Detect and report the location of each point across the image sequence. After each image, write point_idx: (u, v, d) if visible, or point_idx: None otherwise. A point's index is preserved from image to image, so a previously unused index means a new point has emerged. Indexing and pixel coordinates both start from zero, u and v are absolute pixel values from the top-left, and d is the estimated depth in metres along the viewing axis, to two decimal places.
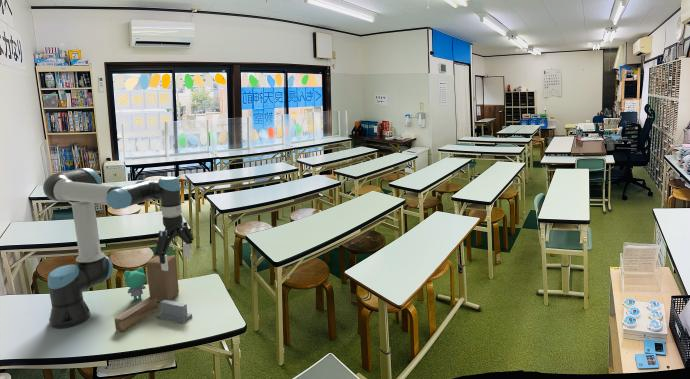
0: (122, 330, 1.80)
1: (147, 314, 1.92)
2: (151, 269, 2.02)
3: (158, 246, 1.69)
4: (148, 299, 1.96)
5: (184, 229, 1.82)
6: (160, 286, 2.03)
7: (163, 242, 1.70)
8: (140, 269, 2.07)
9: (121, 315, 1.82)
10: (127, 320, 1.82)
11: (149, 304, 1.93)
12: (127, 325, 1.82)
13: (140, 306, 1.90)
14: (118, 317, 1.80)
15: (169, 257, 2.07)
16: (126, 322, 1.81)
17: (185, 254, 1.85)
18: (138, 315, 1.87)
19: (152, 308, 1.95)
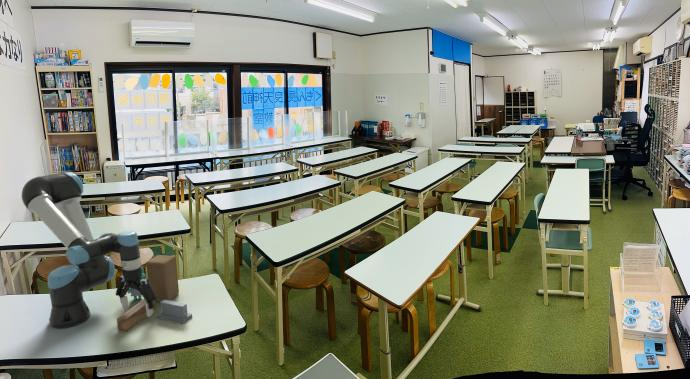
0: (125, 330, 1.80)
1: (146, 314, 1.93)
2: (151, 269, 2.02)
3: None
4: None
5: None
6: (160, 286, 2.03)
7: (119, 285, 1.88)
8: None
9: (123, 315, 1.82)
10: (129, 320, 1.82)
11: None
12: (130, 325, 1.82)
13: (140, 306, 1.90)
14: (120, 318, 1.80)
15: (169, 257, 2.07)
16: (128, 322, 1.81)
17: None
18: (139, 315, 1.87)
19: None
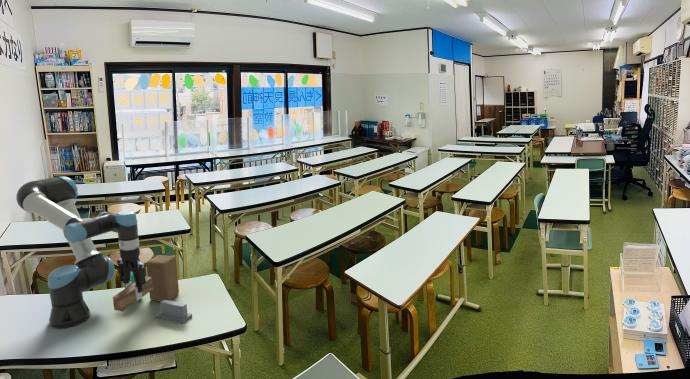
0: (121, 309, 1.78)
1: (143, 293, 1.91)
2: (151, 269, 2.02)
3: None
4: None
5: None
6: (160, 286, 2.03)
7: (119, 269, 1.85)
8: None
9: (119, 294, 1.80)
10: (126, 298, 1.80)
11: (145, 283, 1.91)
12: (126, 303, 1.80)
13: None
14: (116, 296, 1.78)
15: (169, 257, 2.07)
16: (125, 300, 1.79)
17: None
18: None
19: (148, 287, 1.94)
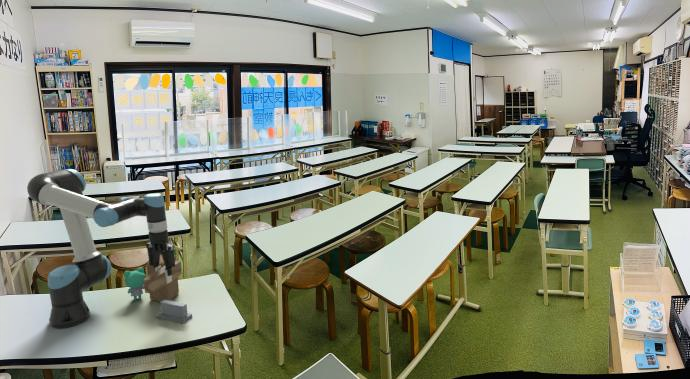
0: (152, 291, 1.77)
1: (173, 277, 1.90)
2: (151, 269, 2.02)
3: None
4: None
5: None
6: None
7: (148, 253, 1.85)
8: (140, 269, 2.07)
9: (149, 276, 1.79)
10: (156, 281, 1.79)
11: (174, 267, 1.90)
12: (156, 286, 1.79)
13: None
14: (147, 278, 1.77)
15: None
16: (155, 283, 1.78)
17: None
18: None
19: (177, 271, 1.93)
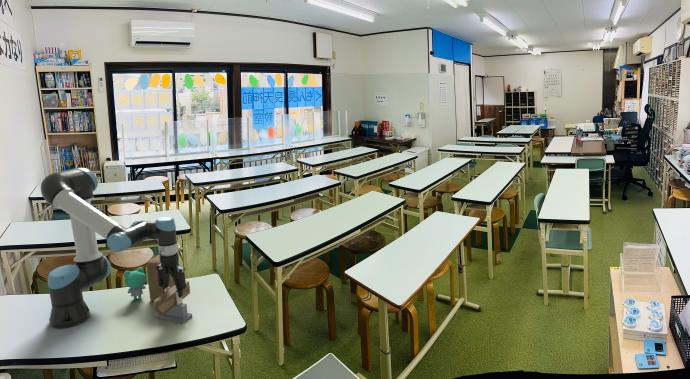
0: (162, 312, 1.80)
1: (182, 297, 1.93)
2: (151, 269, 2.02)
3: None
4: None
5: None
6: None
7: (158, 275, 1.88)
8: (140, 269, 2.07)
9: (159, 298, 1.82)
10: (166, 302, 1.82)
11: None
12: (166, 307, 1.82)
13: (175, 289, 1.90)
14: (157, 300, 1.80)
15: None
16: (165, 304, 1.81)
17: None
18: (174, 298, 1.88)
19: (186, 291, 1.96)
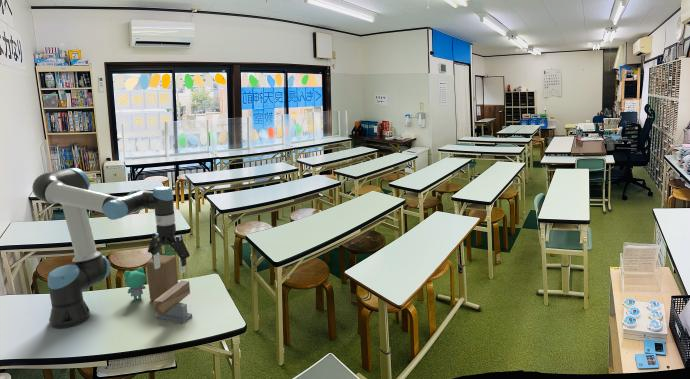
0: (162, 312, 1.80)
1: (182, 297, 1.93)
2: (151, 269, 2.02)
3: None
4: (181, 283, 1.96)
5: None
6: (160, 286, 2.03)
7: (151, 242, 1.85)
8: (140, 269, 2.07)
9: (159, 298, 1.82)
10: (166, 302, 1.82)
11: (183, 287, 1.94)
12: (166, 307, 1.82)
13: (175, 289, 1.90)
14: (157, 300, 1.80)
15: (169, 257, 2.07)
16: (165, 304, 1.81)
17: None
18: (174, 298, 1.88)
19: (186, 291, 1.96)
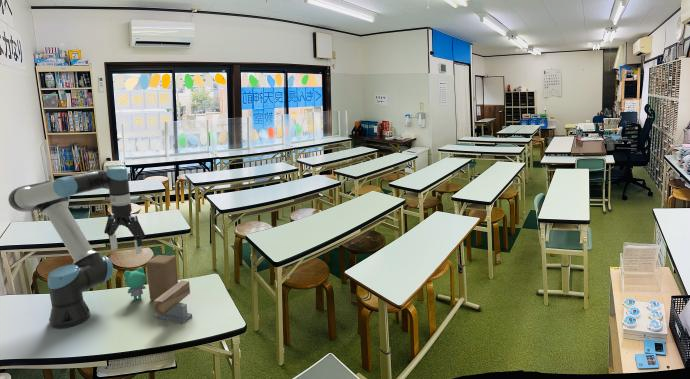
0: (162, 312, 1.80)
1: (182, 297, 1.93)
2: (151, 269, 2.02)
3: None
4: (181, 283, 1.96)
5: None
6: (160, 286, 2.03)
7: (107, 223, 1.84)
8: (140, 269, 2.07)
9: (159, 298, 1.82)
10: (166, 302, 1.82)
11: (183, 287, 1.94)
12: (166, 307, 1.82)
13: (175, 289, 1.90)
14: (157, 300, 1.80)
15: (169, 257, 2.07)
16: (165, 304, 1.81)
17: None
18: (174, 298, 1.88)
19: (186, 291, 1.96)
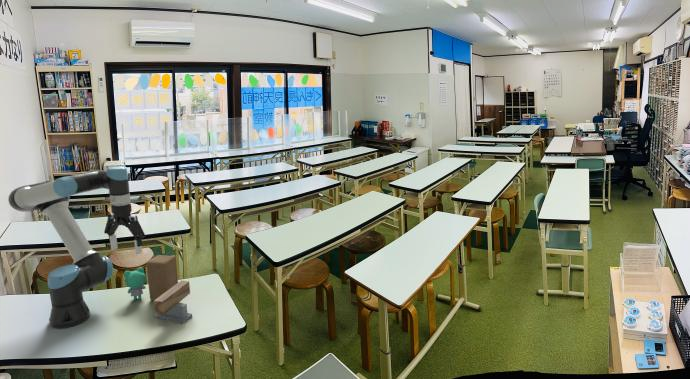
0: (162, 312, 1.80)
1: (182, 297, 1.93)
2: (151, 269, 2.02)
3: None
4: (181, 283, 1.96)
5: None
6: (160, 286, 2.03)
7: (107, 223, 1.84)
8: (140, 269, 2.07)
9: (159, 298, 1.82)
10: (166, 302, 1.82)
11: (183, 287, 1.94)
12: (166, 307, 1.82)
13: (175, 289, 1.90)
14: (157, 300, 1.80)
15: (169, 257, 2.07)
16: (165, 304, 1.81)
17: None
18: (174, 298, 1.88)
19: (186, 291, 1.96)
